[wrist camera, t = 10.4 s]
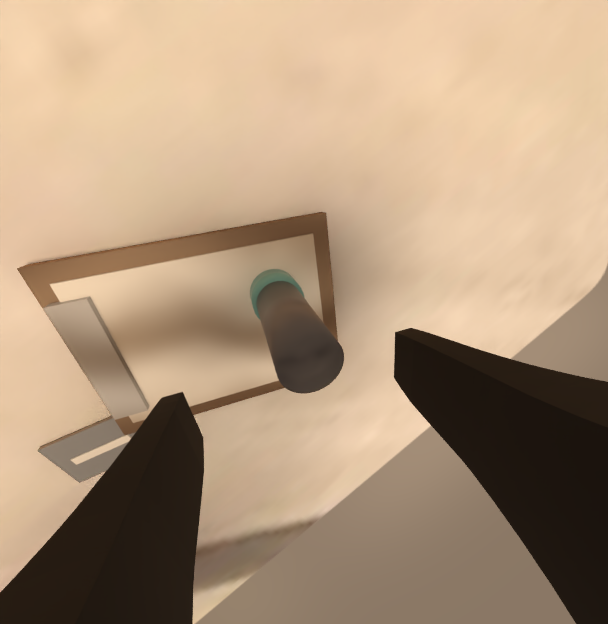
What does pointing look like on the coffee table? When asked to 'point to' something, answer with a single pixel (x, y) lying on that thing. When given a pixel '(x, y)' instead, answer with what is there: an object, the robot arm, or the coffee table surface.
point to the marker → (295, 334)
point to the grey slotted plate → (87, 449)
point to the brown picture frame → (181, 313)
